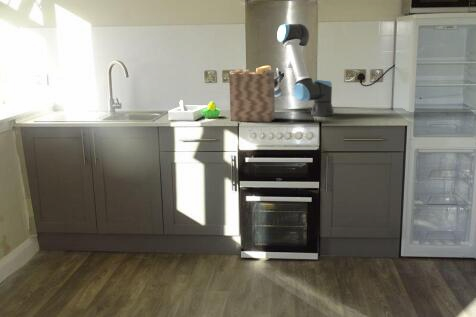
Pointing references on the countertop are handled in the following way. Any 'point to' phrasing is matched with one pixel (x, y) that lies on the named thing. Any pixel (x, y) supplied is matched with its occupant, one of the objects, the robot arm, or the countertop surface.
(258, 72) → the bar
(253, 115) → the brown patterned box
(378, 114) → the countertop surface
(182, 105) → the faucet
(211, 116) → the fruit basket
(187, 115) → the tray
